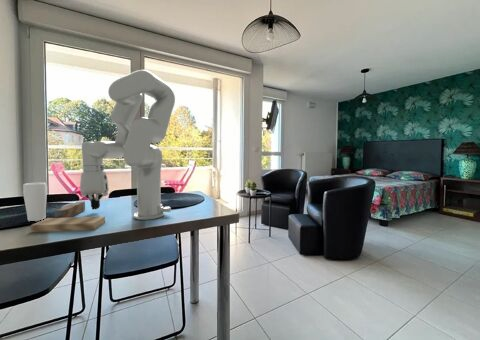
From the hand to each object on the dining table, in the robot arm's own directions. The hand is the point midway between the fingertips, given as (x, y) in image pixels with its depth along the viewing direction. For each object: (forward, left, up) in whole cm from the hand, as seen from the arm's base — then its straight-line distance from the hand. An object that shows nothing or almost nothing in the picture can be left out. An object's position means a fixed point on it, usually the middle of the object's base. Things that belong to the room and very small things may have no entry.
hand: (95, 208), depth 97 cm
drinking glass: (+18, +9, -2) cm, 20 cm away
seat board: (0, +19, -2) cm, 19 cm away
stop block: (+11, 0, -2) cm, 11 cm away
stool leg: (+8, +5, -2) cm, 9 cm away
